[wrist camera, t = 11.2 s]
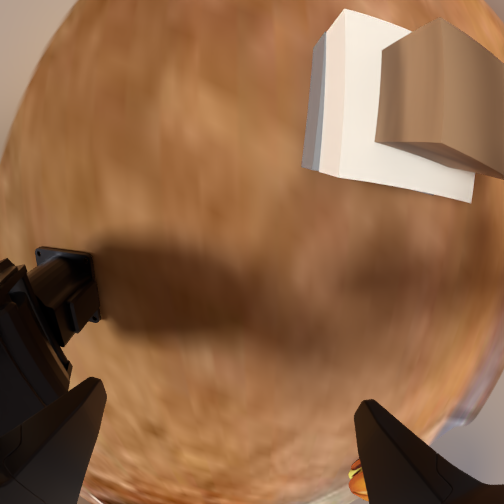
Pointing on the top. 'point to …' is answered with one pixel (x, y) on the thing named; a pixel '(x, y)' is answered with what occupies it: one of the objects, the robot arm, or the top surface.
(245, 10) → the top surface
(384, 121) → the walnut block
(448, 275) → the top surface
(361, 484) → the cheeseburger
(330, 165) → the tower top slab
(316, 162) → the tower base slab
